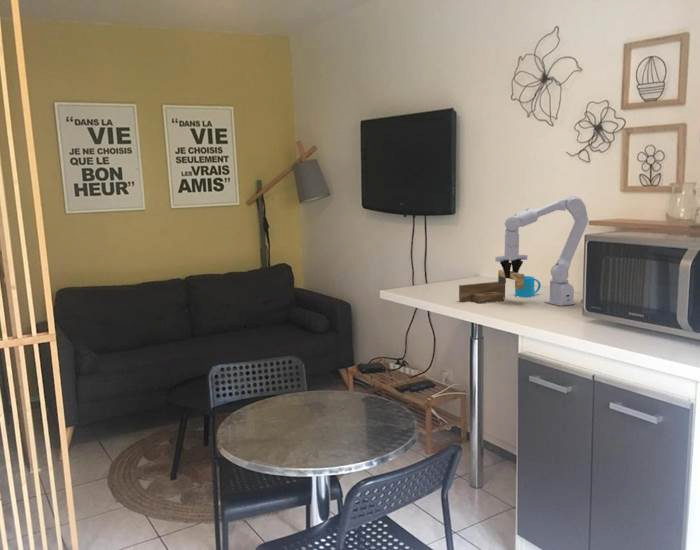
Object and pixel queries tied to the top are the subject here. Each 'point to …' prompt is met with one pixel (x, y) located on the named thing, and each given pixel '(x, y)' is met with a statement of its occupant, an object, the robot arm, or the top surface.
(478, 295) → the stepped wooden block
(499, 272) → the rail
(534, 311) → the top surface
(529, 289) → the mug
